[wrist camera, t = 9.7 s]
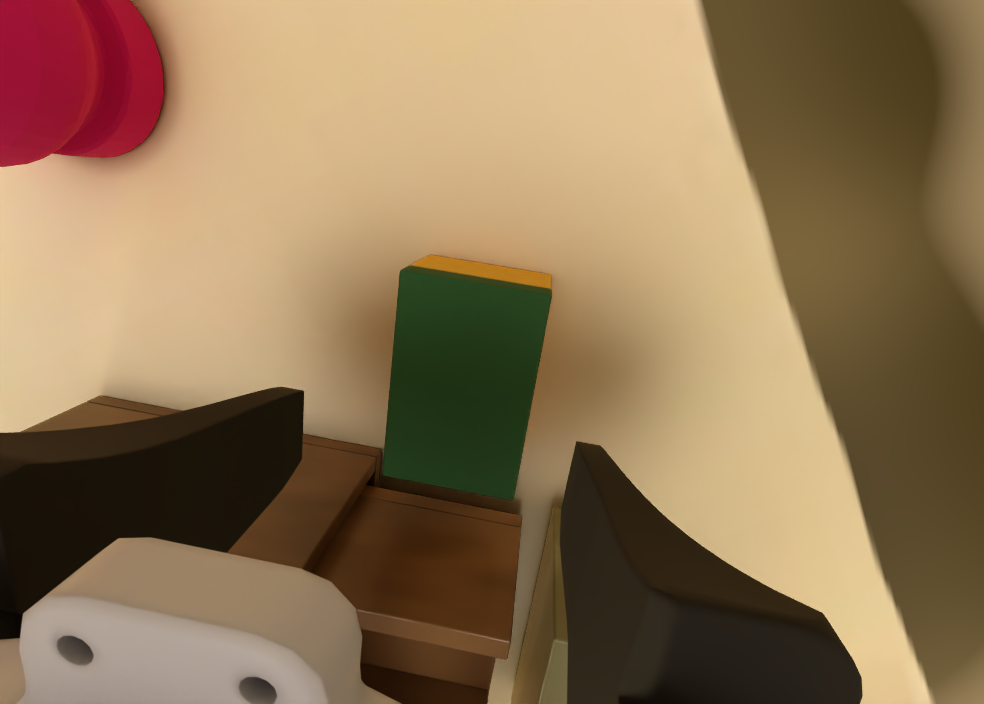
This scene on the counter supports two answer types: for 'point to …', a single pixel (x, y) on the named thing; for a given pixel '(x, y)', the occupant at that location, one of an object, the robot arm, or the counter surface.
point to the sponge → (464, 373)
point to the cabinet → (296, 509)
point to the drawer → (446, 599)
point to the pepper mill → (75, 79)
